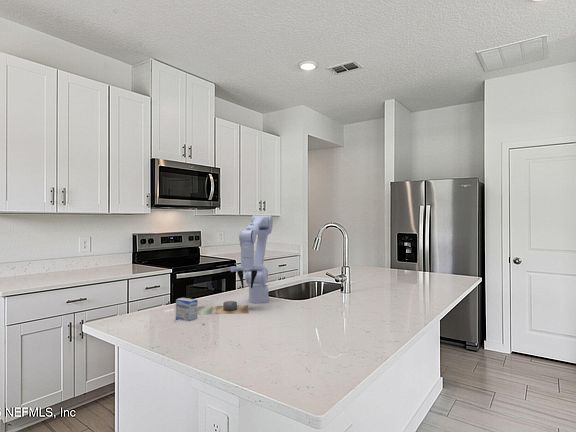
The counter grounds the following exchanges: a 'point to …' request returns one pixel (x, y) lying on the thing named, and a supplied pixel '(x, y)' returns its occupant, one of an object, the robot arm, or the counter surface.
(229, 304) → the puck
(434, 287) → the counter surface
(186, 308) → the medicine box
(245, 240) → the robot arm
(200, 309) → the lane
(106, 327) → the counter surface
